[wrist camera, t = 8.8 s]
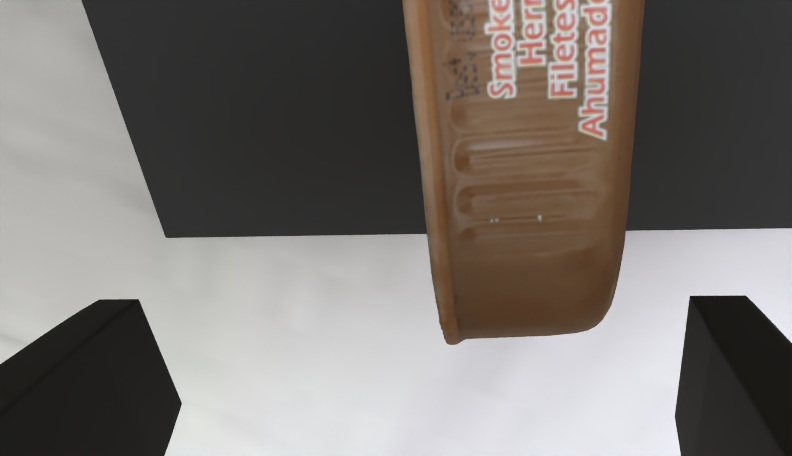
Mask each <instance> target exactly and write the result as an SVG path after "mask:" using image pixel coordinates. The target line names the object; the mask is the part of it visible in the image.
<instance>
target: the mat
mask: <svg viewBox="0 0 792 456" xmlns="http://www.w3.org/2000/svg"><path fill="white" fill-rule="evenodd" d="M82 3H83V5H84V8H85V11H86V14H87V17H88V20H89V22H90V25H91V28H92V31H93V34H94V36H95V39H96V42H97V45H98V48H99V51H100V53H101V56H102V59H103V62H104V65H105V67H106V70H107V73H108V76H109V79H110V82H111V84H112V87H113V90H114V93H115V96H116V99H117V101H118V104H119V107H120V110H121V113H122V115H123V118H124V121H125V124H126V127H127V130H128V132H129V135H130V138H131V141H132V144H133V146H134V149H135V152H136V155H137V158H138V161H139V163H140V166H141V169H142V172H143V175H144V178H145V180H146V183H147V186H148V189H149V192H150V194H151V197H152V200H153V203H154V206H155V209H156V211H157V214H158V217H159V220H160V223H161V225H162V228H163V231H164V234H165V237H166V238H182V237H247V236H311V235H376V234H427V227H426V218H425V209H424V197H423V190H422V179H421V166H420V157H419V149H418V140H417V132H416V124H415V116H414V106H413V97H412V82H411V75H410V65H409V56H408V47H407V39H406V32H405V20H404V11H403V3H402V0H82ZM762 228H792V0H645V4H644V18H643V27H642V36H641V55H640V71H639V82H638V93H637V104H636V115H635V129H634V142H633V152H632V162H631V175H630V192H629V203H628V213H627V222H626V231H633V230H698V229H762Z"/></svg>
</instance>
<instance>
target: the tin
mask: <svg viewBox="0 0 792 456" xmlns="http://www.w3.org/2000/svg"><path fill="white" fill-rule="evenodd" d="M402 3H403V11H404V20H405V32H406V39H407V47H408V56H409V65H410V75H411V82H412V97H413V106H414V116H415V124H416V132H417V140H418V149H419V157H420V166H421V179H422V190H423V197H424V209H425V218H426V227H427V237H428V246H429V255H430V264H431V273H432V280H433V286H434V292H435V298H436V303H437V308H438V313H439V323H440V325H441V329H442V331H443V335H444V339H445V340H446V343H447V344H449V345H455V344H458V343H460V342H461V341H463V340H465V339H474V338H499V337H524V336H550V335H560V334H570V333H577V332H582V331H587V330H589V329H591V328H593V327H595V326H597V325H598V324H599V323H600V322H601V321H602V319H603V318H604V316H605V315H606V313H607V312H608V310H609V308H610V306H611V303H612V300H613V297H614V294H615V290H616V286H617V281H618V276H619V271H620V266H621V260H622V254H623V249H624V241H625V231H626V222H627V213H628V203H629V192H630V175H631V162H632V152H633V142H634V129H635V115H636V104H637V93H638V82H639V71H640V55H641V36H642V27H643V18H644V4H645V0H402Z"/></svg>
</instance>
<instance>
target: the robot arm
mask: <svg viewBox="0 0 792 456" xmlns="http://www.w3.org/2000/svg"><path fill="white" fill-rule="evenodd" d="M181 405H182V403H181V400H180V398H179V396H178V393H177V391H176V388H175V386H174V383H173V381H172V379H171V376H170V374H169V371H168V369H167V367H166V364H165V362H164V359H163V357H162V355H161V352H160V350H159V347H158V345H157V342H156V340H155V338H154V335H153V333H152V330H151V328H150V326H149V323H148V321H147V318H146V316H145V314H144V311H143V309H142V306H141V304H140V301H139V299H119V300H98V301H96V302H95V303H93V304H91V305H89V306H88V307H86V308H84V309H82V310H81V311H79V312H78V313H76V314H74V315H73V316H71V317H70V318H68V319H67V320H65V321H64V322H62V323H60V324H59V325H57V326H56V327H54V328H53V329H51V330H50V331H48V332H47V333H45V334H44V335H43V336H41V337H40V338H38V339H37V340H35V341H34V342H32V343H31V344H29V345H28V346H26V347H25V348H23V349H22V350H21V351H19V352H18V353H16V354H15V355H13V356H12V357H10V358H9V359H7V360H6V361H5V362H3V363H2V364H0V456H164V455H165V452H166V449H167V447H168V444H169V441H170V438H171V435H172V432H173V429H174V426H175V423H176V420H177V417H178V414H179V411H180V408H181ZM675 420H676V426H677V433H678V439H679V445H680V451H681V456H792V343H791V342H790V341H789V340H788V339H787V338H786V337H785V336H784V335H783V333H782V332H781V331H780V330H779V329H778V328H777V327H776V326H775V325H774V324H773V323H772V322H771V321H770V320H769V319H768V318H767V317H766V316H765V315H764V313H763V312H762V311H761V310H760V309H759V308H758V307H757V306H756V305H755V304H754V303H753V302H752V301H751V300H750V299H749V298H748V297H746V296H690V300H689V308H688V316H687V324H686V332H685V340H684V348H683V356H682V364H681V372H680V380H679V388H678V396H677V404H676V412H675Z"/></svg>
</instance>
